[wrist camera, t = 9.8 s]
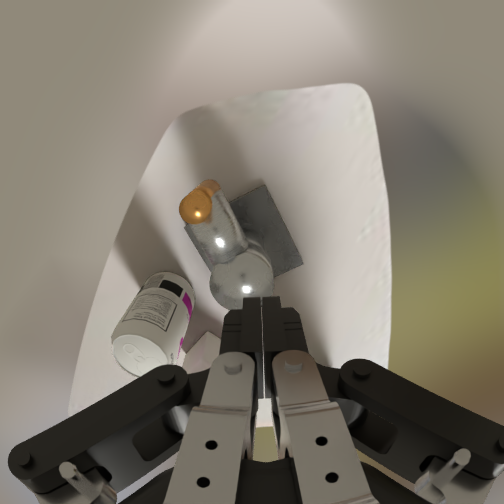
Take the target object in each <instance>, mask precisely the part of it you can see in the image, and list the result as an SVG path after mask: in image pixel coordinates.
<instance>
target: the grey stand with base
mask: <svg viewBox="0 0 504 504" xmlns="http://www.w3.org/2000/svg"><path fill="white" fill-rule="evenodd" d="M229 205H230V207H231V209H232V211H233V213H234V215H235V217H236V219H237V221H238V223H239V225H240V227H241V229H242V230H243V232H244V234H245V236H246V238H247V240H248V242H251V243H254V244H257V245H258V246H260V247H261V248H263V249H264V250H265V251H266V253H267V254H268V256H269V258H270V260H271V264H272V272H273V278H274V277H276V276H278V275H280V274H283V273H285V272H287V271H289V270H291V269H293V268H296V267H298V266H300V265H302V264H303V261H302V259H301V257H300V255H299V253H298V251H297V249H296V246H295V244H294V242H293V240H292V238H291V236H290V234H289V232H288V230H287V228H286V226H285V224H284V222H283V220H282V218H281V216H280V214H279V212H278V210H277V208H276V206H275V204H274V202H273V200H272V198H271V196H270V194H269V192H268V190H267V188H266V186H265V185H263V186H261V187H259V188H257V189H255V190H253V191H251V192H249V193H247V194H245V195H243V196H241V197H239V198H237V199H235V200H233V201H231V202H229ZM184 229H185V230H186V232H187V234H188V235H189V237H190V239H191V240H192V242H193V244H194V245H195V247H196V249H197V250H198V252H199V253H200V255H201V257H202V258H203V260H204V262H205V263H206V265H207V267H208V268H209V270H210V271H211V273H212V270H213V266H214V265H213V264H211V263H210V261H209V259H208V258H207V256H206V254H205V252H204V251H203V249H202V247H201V245H200V244H199V242H198V240H197V238H196V236H195V235H194V233H193V231H192V229H191V227H190V225H189V224H188V225H186V226H185V227H184Z"/></svg>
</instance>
